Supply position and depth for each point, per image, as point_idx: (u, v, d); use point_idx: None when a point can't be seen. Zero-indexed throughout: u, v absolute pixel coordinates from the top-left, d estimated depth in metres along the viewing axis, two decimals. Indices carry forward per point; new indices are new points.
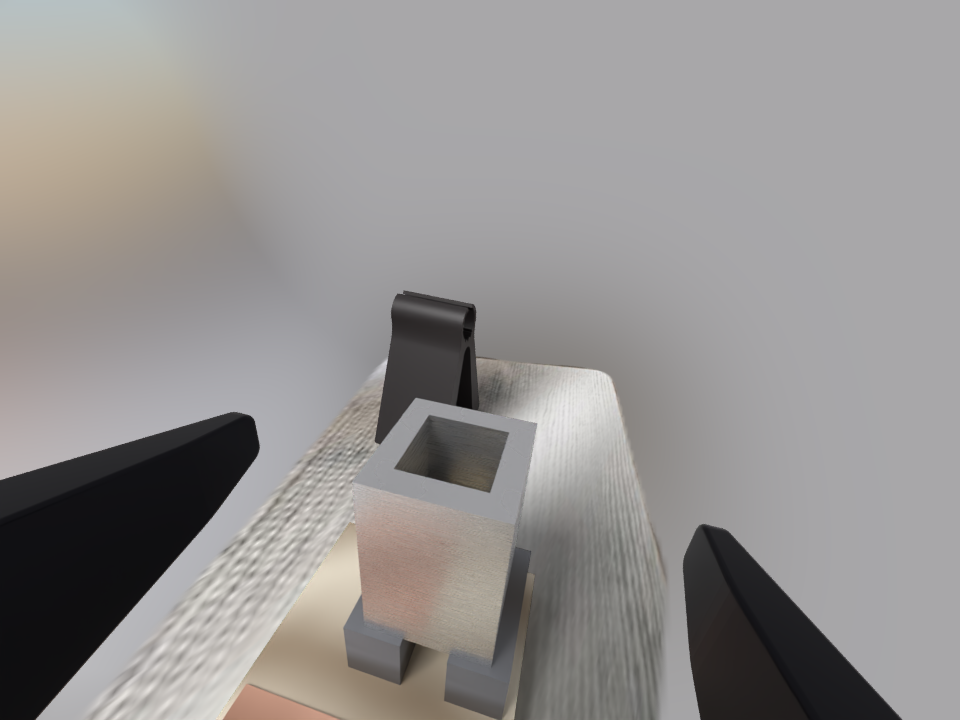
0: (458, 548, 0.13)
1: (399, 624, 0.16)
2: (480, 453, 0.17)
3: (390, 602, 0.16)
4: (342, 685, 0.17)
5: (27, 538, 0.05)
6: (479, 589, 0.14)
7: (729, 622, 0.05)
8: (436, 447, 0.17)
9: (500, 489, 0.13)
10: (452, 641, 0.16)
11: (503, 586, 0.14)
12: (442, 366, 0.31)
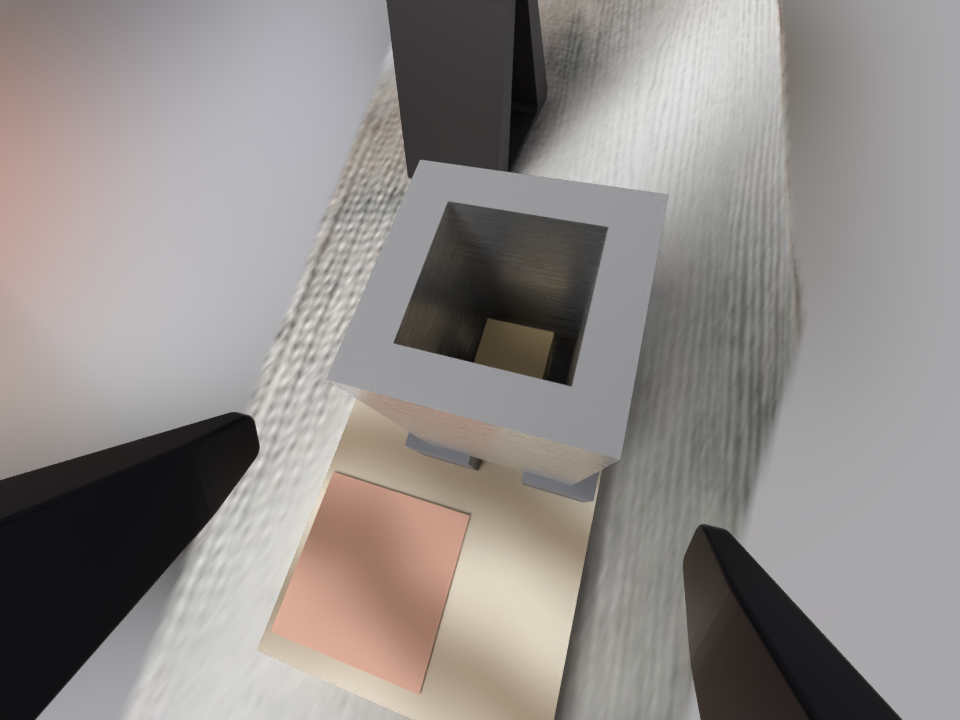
0: (521, 446, 0.08)
1: (463, 451, 0.14)
2: (551, 257, 0.10)
3: (446, 443, 0.13)
4: (421, 471, 0.18)
5: (27, 538, 0.05)
6: (556, 466, 0.10)
7: (729, 622, 0.05)
8: (474, 249, 0.10)
9: (592, 376, 0.07)
10: (526, 469, 0.13)
11: (591, 473, 0.09)
12: (480, 36, 0.18)
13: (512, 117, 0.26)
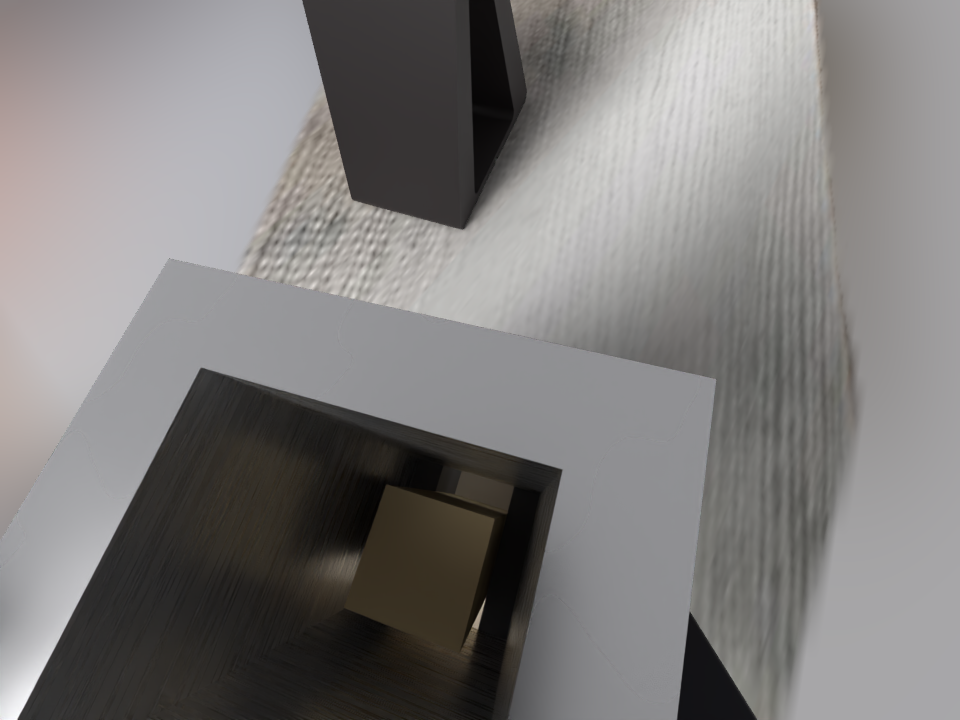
0: None
1: None
2: (459, 452, 0.05)
3: None
4: None
5: None
6: None
7: None
8: (320, 413, 0.05)
9: None
10: None
11: None
12: (421, 17, 0.13)
13: (482, 124, 0.21)
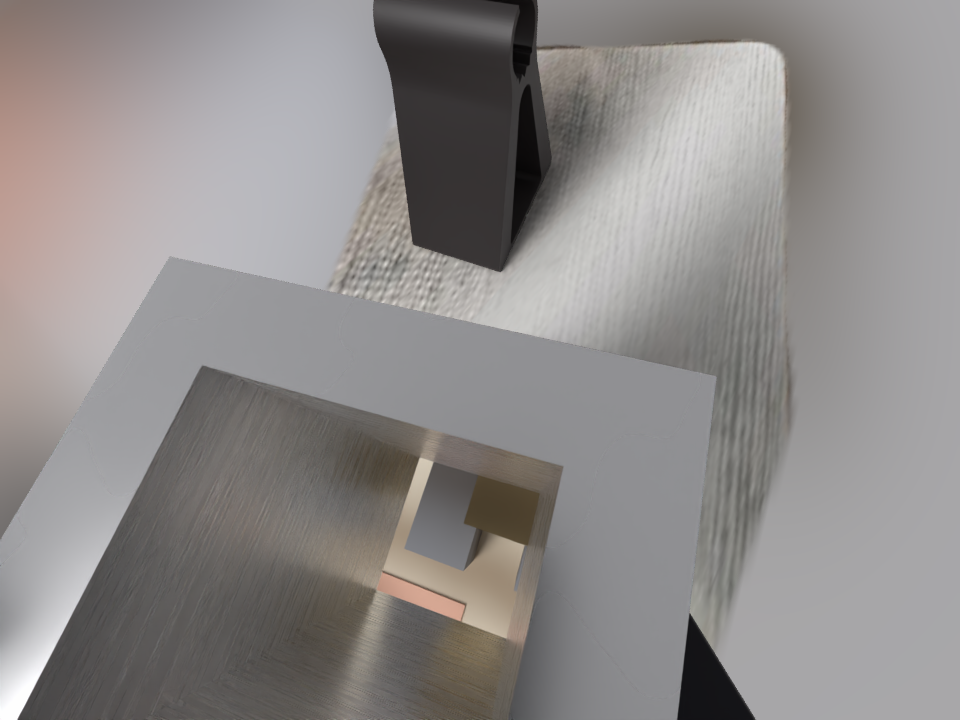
0: None
1: None
2: (460, 450, 0.05)
3: None
4: (420, 558, 0.19)
5: None
6: None
7: None
8: (320, 412, 0.05)
9: None
10: None
11: None
12: (484, 136, 0.19)
13: (516, 185, 0.26)
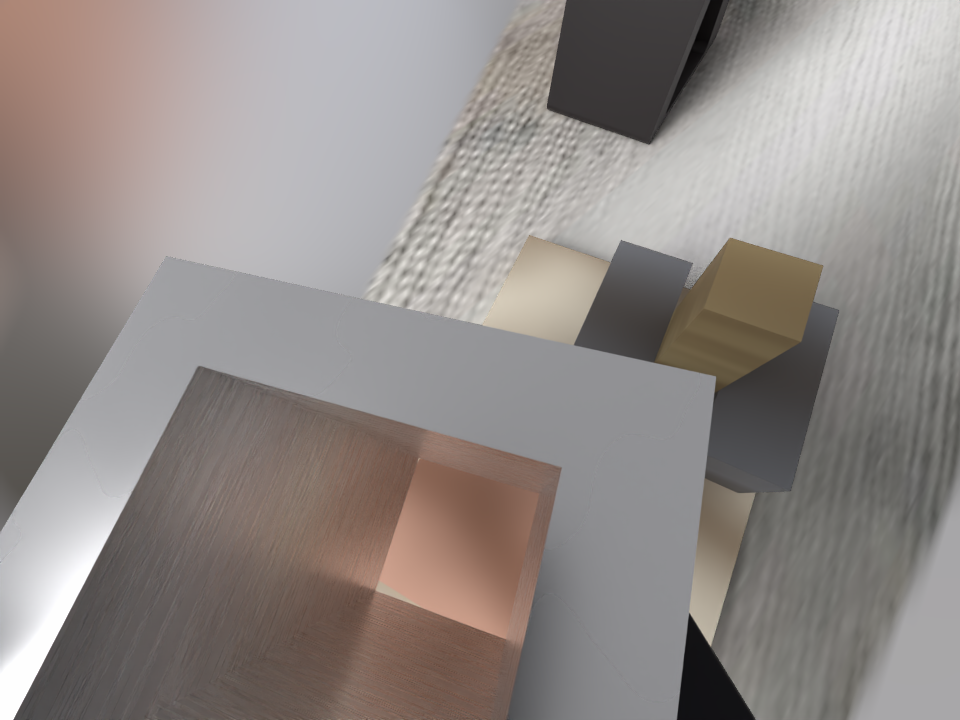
0: None
1: None
2: (458, 451, 0.05)
3: None
4: None
5: None
6: None
7: None
8: (318, 412, 0.05)
9: None
10: None
11: None
12: None
13: None
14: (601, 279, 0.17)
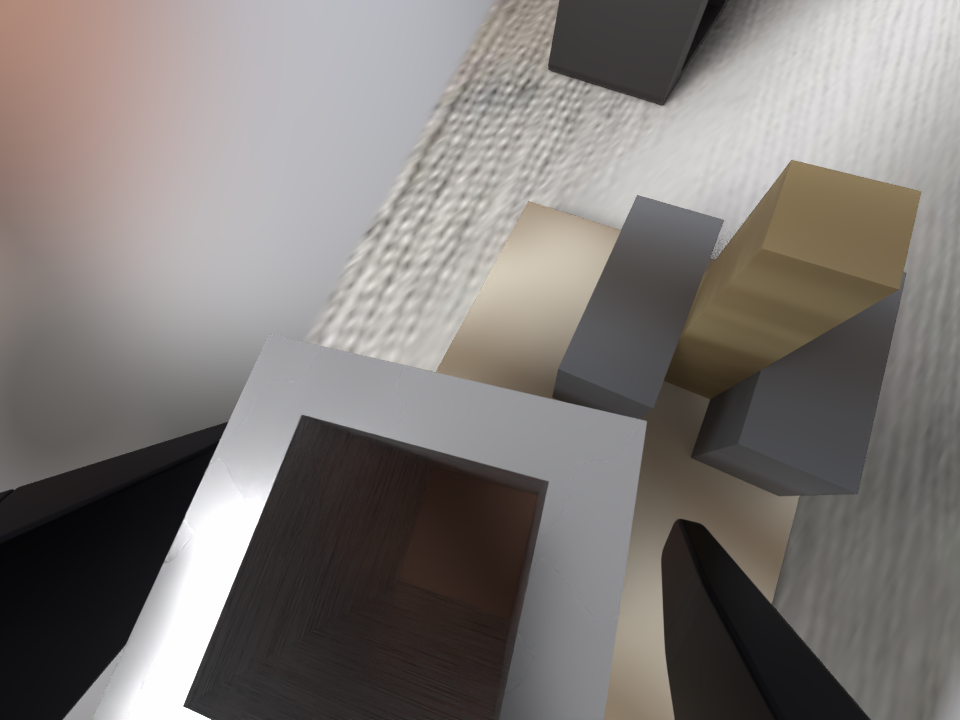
0: None
1: None
2: (476, 467, 0.06)
3: None
4: None
5: (49, 545, 0.05)
6: None
7: (699, 614, 0.06)
8: (370, 439, 0.07)
9: None
10: None
11: None
12: None
13: None
14: (611, 249, 0.15)
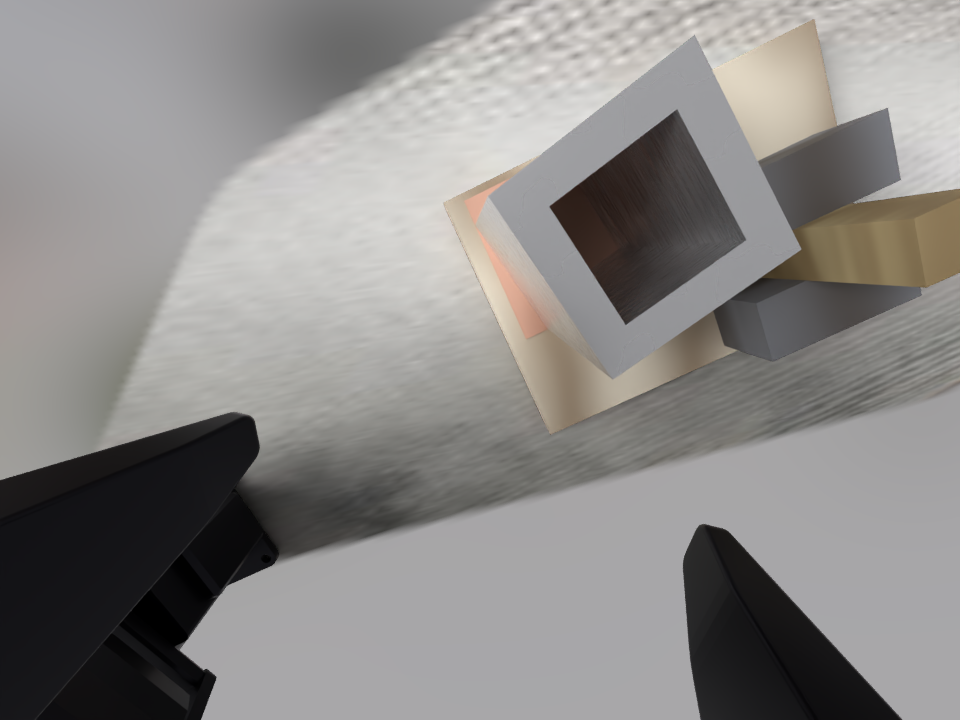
0: (560, 317, 0.12)
1: (499, 256, 0.16)
2: (692, 208, 0.11)
3: (496, 248, 0.15)
4: None
5: (27, 538, 0.05)
6: (561, 330, 0.13)
7: (729, 622, 0.05)
8: (651, 144, 0.11)
9: (640, 328, 0.10)
10: (530, 301, 0.17)
11: (578, 352, 0.13)
12: None
13: None
14: (813, 127, 0.17)
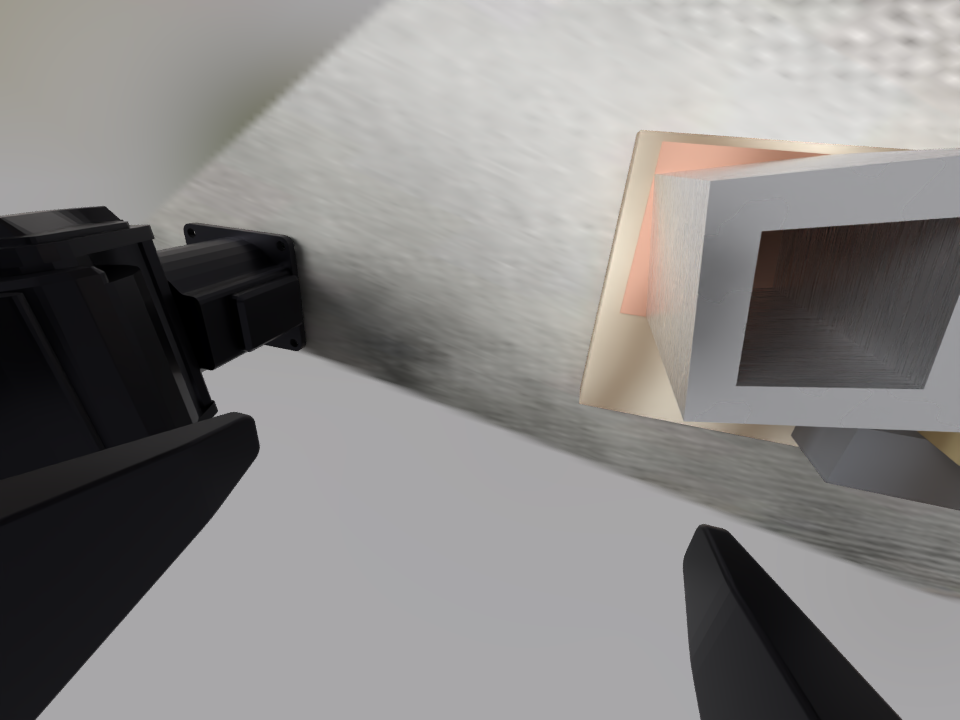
0: (676, 331, 0.11)
1: (655, 222, 0.15)
2: (895, 317, 0.09)
3: (660, 215, 0.13)
4: None
5: (27, 538, 0.05)
6: (664, 337, 0.13)
7: (729, 622, 0.05)
8: (916, 225, 0.09)
9: (747, 397, 0.09)
10: (651, 283, 0.15)
11: (665, 367, 0.12)
12: None
13: None
14: None
